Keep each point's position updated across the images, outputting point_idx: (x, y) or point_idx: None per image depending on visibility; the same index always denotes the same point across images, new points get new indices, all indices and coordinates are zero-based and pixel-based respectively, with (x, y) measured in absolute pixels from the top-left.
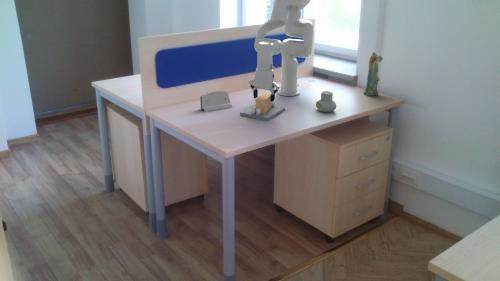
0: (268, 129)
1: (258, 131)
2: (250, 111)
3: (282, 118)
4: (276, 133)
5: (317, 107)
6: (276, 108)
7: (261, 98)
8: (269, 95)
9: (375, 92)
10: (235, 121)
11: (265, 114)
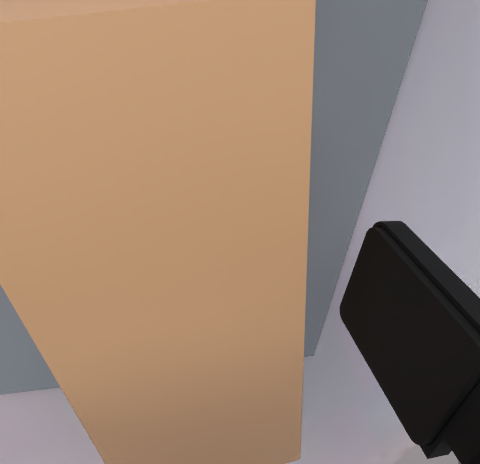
0: (345, 421)
1: (298, 461)
2: None
3: (416, 222)
4: (397, 428)
5: None
6: (329, 23)
7: (199, 437)
8: (286, 192)
9: None
10: (72, 459)
11: None
